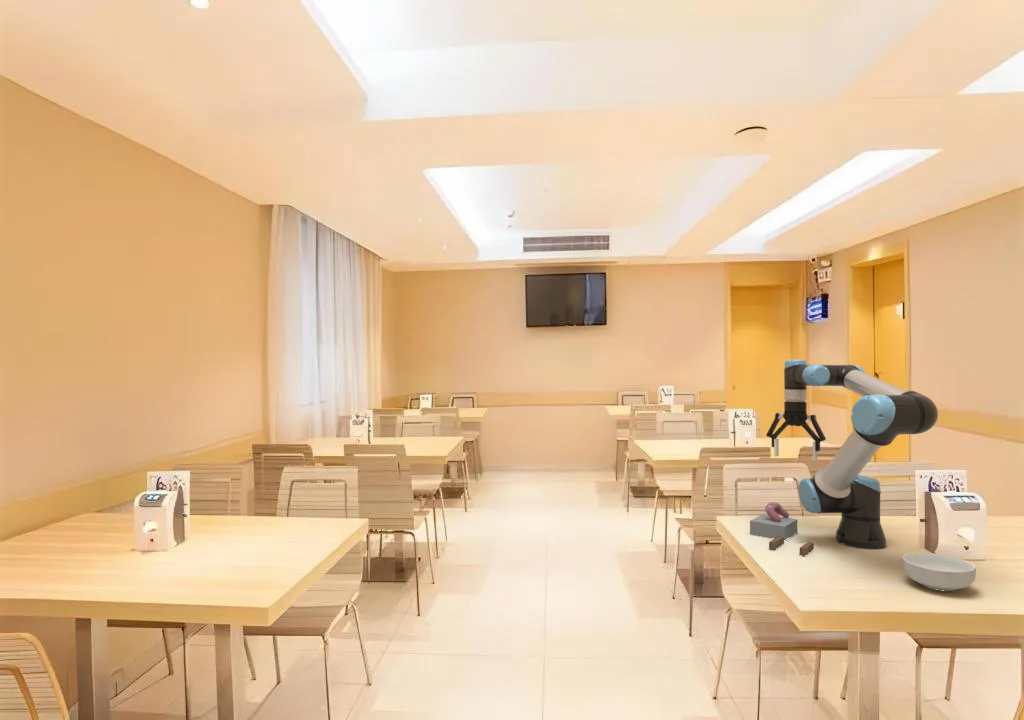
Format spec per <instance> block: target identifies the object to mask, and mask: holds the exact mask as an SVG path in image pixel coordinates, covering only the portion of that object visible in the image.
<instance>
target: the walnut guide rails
mask: <svg viewBox="0 0 1024 720" xmlns="http://www.w3.org/2000/svg"><path fill="white" fill-rule="evenodd" d="M782 544H783V545H784V544H785V541H784V537H783V536H778V537H777V538H775V539H772V540H770V541H769V542H768V550H769V549H770V551H775V550H777V549H778V548H780V547H782V546H783V545H782ZM781 545H782V546H781ZM779 546H780V547H779ZM814 546H815V542H814V541H809V540H808V541H807V542H806V543H804V544H803V545H801V546H800V547H799V556H800V555H802V556H801V557H804V556H805V555H806V556H808V555H809V554H810V553H811V552H813V551H814V550H815V547H814ZM776 548H777V549H776ZM813 549H814V550H813ZM812 550H813V551H812ZM809 552H810V553H809ZM808 553H809V554H808ZM806 556H805V557H806Z"/></svg>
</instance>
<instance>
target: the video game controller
mask: <svg viewBox="0 0 1024 720" xmlns="http://www.w3.org/2000/svg"><path fill="white" fill-rule="evenodd" d="M764 508H765V509H764V510H765V514H767V515H769V516H770V517H771V518H772V519H773V520H775V521H777V522H780V521H781V518H780V517H785V518H790V513H789V511H787V510H786V509H785V508H783V506H782V505H781V504H779V503H778V501H777V502H775V501H772V502H769V503H767V505H766V506H764Z"/></svg>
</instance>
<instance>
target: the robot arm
mask: <svg viewBox="0 0 1024 720" xmlns="http://www.w3.org/2000/svg"><path fill="white" fill-rule="evenodd" d="M783 376H784V377H783V379H784V382H783V383H784V384H783V385H784V393H783V395H784V397H783V398H784V400H785V401H784V402H783V403H784V405H783V408H784V411H783V413H781V412H776V413H775V416H774V419H773V420H772V423H771V425H770V427H769V429H768V431H767V433H766V435H765V436H766V437H768V438H769V439H771V447H772V448H773V456H774V457H779V456H780V455H779V453H780V452H779V450H780V448H779V447H780V446H779V443H780V441H779V440H780V439H779V438H778V437H779V436H780V434H781V433H782V432H783V431H785V429H786V428H787V427H788V426H790V427H793V426H795V427H802V428H803V429H804V430H805V431H806V432H807V433H808V436H810V438H812V439H813V441H812V461H817V460H818V452H820V450H821V442H824V441H826V440H827V438H826V436H825V433H823V431H822V428H821V425H819V423H818V421H817V415H816V414H811V415H810V414H809V415H808V413H807V411H808V410H807V404H808V403H807V401H806V400H807V390H808V389H807V386H810V387H843V388H845V389H847V390H850V391H852V392H853V393H854V394H858V395H859V396H861V397H860V398H859V399H858V400H856V402H855V403H854V405H853V406H852V407H851V408H852V409H851V415H850V419H851V423H852V431H851V433H850V435H849V436H848V437H847V438H846V440H845V441H844V443H843V444H842V445H841V447H840V448H839V449H838V451H837V452H836V454H834V456H833V458H831V460H830V462H829V463H828V464H827V465H826V467H825V468H821V469H818V471H816V472H815V473H814V475H813V476H812V477H811V478H808V477H806V478H802V479H801V480H800V482H799V484H798V497H799V500H800V503H801V505H802V507H803V508H804V509H805V510H806V512H809V513H810V514H819V515H820V514H841V518H840V521H839V524H838V526H837V529H836V533H835V541H836V542H838V543H839V544H842V543H843V544H842V545H845V546H848V547H849V546H850V547H854V548H861V549H868V548H869V549H873V550H875V549H876V550H877V549H884V548H886V547H887V538H886V535H885V532H884V529H883V527H882V524H881V493H882V491H881V482H880V481H879V480H878V479H877V478H875V477H874V478H873V477H869V476H865V475H861V474H860V473H861V472H862V470H863V469H865V467H866V465H868V463H869V462H870V461H871V459H872V458H873V457H874V456H875V455H876V453H878V451H879V450H880V448H881V447H886V446H889V445H891V444H892V442H893V441H894V440H895V439H896V437H898V436H899V435H918V434H923V433H926V432H927V431H929V430H930V429H932V428H933V427H934V426H935V424H936V423H937V420H938V418H939V417H938V416H939V411H938V407H937V405H936V404H935V402H934V401H933V400H932V399H930V398H929V397H928V396H926V395H924V394H922V393H919V392H917V391H914V390H905V389H902V388H900V387H897V386H895V385H893V384H890V383H889V382H886V381H884V380H881V379H879V378H877V377H875V376H873V375H870V374H868V373H866V371H865V370H864V369H863V367H862V366H860V365H856V364H815V363H814V364H807V361H806V360H805V359H786V360H785V361H784V369H783ZM781 419H784V420H785V421H784V422H783V423H782V424H781V425H780V427H779V428H777V427H778V425H779V422H780V421H781ZM807 420H809V421H810V422H811V425H812V427H813V428H814V430H815V431H814V430H813V429H812V428H811V427H810V425H809V424H808V423H807ZM776 428H777V430H776ZM775 430H776V431H775ZM815 432H816V433H815ZM859 474H860V475H859Z"/></svg>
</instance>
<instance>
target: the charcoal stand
mask: <svg viewBox="0 0 1024 720" xmlns="http://www.w3.org/2000/svg"><path fill="white" fill-rule="evenodd" d="M780 518H781V521H780V522H777V521H775V520H773V519H772V518H771V517H770V516H769V515H768V514H767V513H763V514H761V515H759V516H757V517H755V518H753V519H750V521H749V535H750V536H755V535H756V537H760V536H762V538H766V537H767V539H771V538H774V539H775V538H777V537H778V536H783V537H784V540H786V539H787V538H789V537H790V538H792V537H793V536H792V535H794V534H795V533H797V534H798V520H799V519H797V518H790V517H788V518H785V517H783V516H780ZM795 535H796V534H795ZM795 535H794V536H795ZM791 536H792V537H791ZM790 538H789V539H790ZM787 540H788V539H787ZM787 540H786V541H787Z"/></svg>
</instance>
